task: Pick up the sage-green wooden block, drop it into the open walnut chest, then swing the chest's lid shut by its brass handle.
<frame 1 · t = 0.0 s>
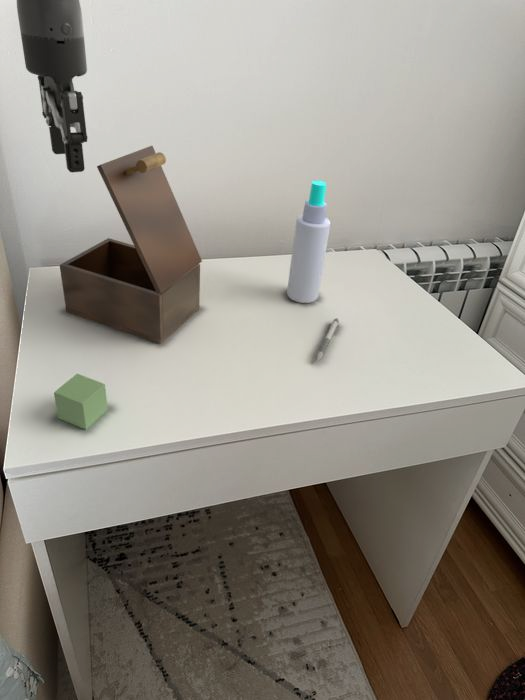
hand: (68, 162, 76), 26 cm above the table, tool pointing down, fingers open, 8 cm apart
spray bottle: (302, 297, 103), on the table
block: (83, 413, 71), on the table
pen: (326, 343, 91), on the table
lid: (165, 215, 81), point 19 cm above the table, hinge at 62.0°
chest: (134, 310, 94), on the table
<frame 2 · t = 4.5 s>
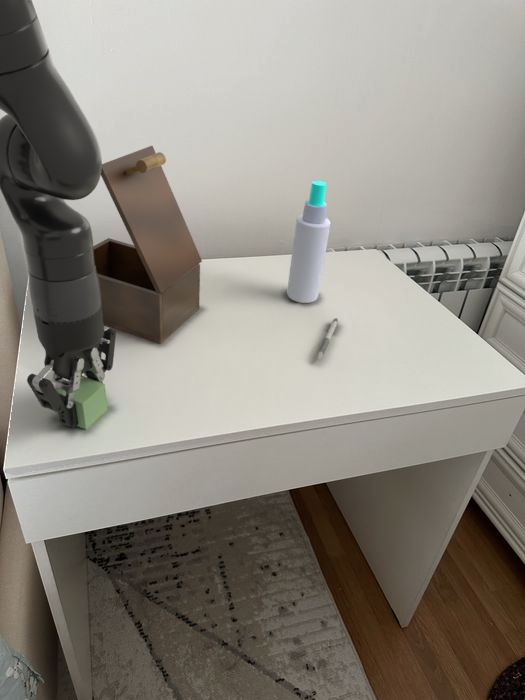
hand: (83, 412, 71), 0 cm above the table, tool pointing down, fingers closed on block, 4 cm apart
block: (83, 414, 71), on the table, touching gripper
everything else where it was.
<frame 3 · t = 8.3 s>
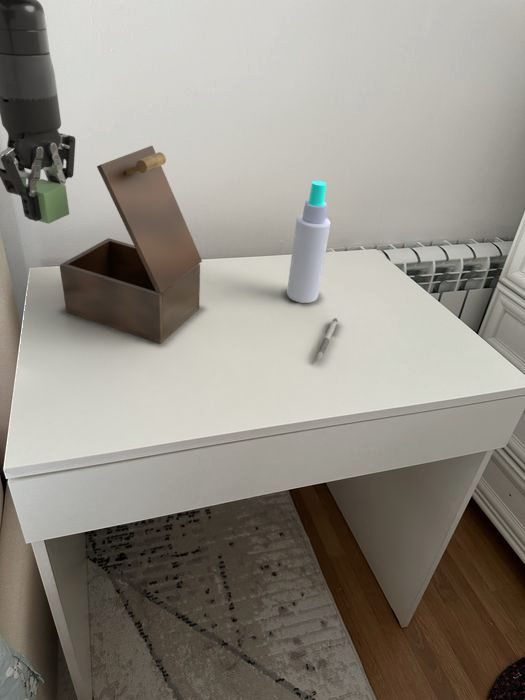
hand: (46, 213, 80), 18 cm above the table, tool pointing down, fingers closed on block, 4 cm apart
block: (47, 215, 80), point 18 cm above the table, touching gripper
everything else where it was.
when the fingers open (6 cm above the table, at t = 12.5 s): block drops 5 cm, resting on chest.
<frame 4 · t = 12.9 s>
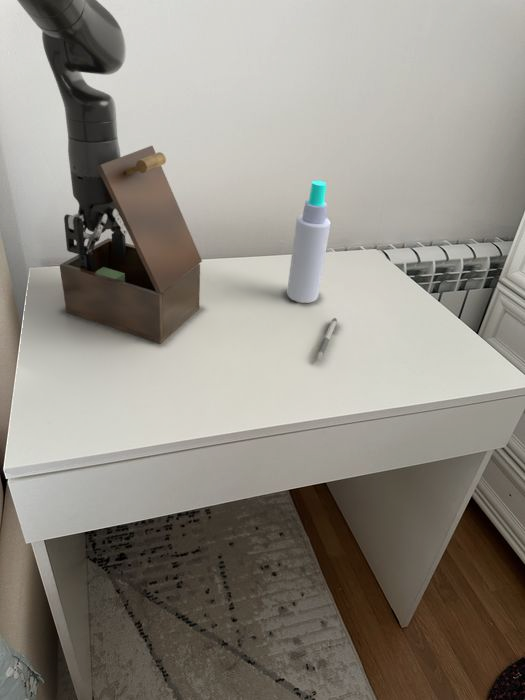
hand: (104, 263, 91), 8 cm above the table, tool pointing down, fingers open, 8 cm apart
block: (108, 297, 95), point 1 cm above the table, touching chest
everything else where it was.
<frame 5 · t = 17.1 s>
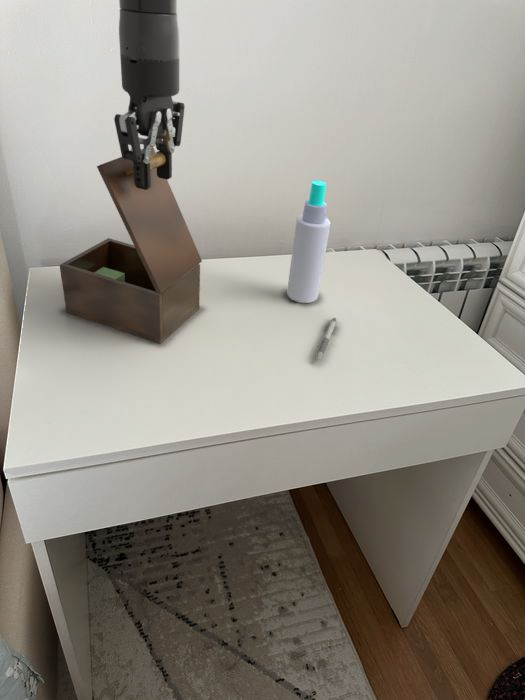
hand: (153, 182, 79), 24 cm above the table, tool pointing down, fingers closed on lid, 5 cm apart
lid: (165, 215, 81), point 19 cm above the table, hinge at 62.0°, touching gripper
everything else where it was.
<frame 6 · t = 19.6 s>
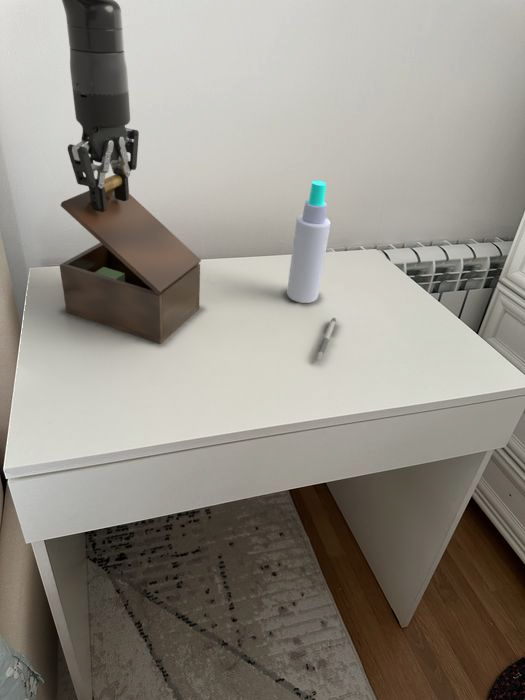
hand: (111, 204, 84), 18 cm above the table, tool pointing down, fingers closed on lid, 5 cm apart
lid: (140, 225, 84), point 16 cm above the table, hinge at 31.3°, touching gripper
everything else where it was.
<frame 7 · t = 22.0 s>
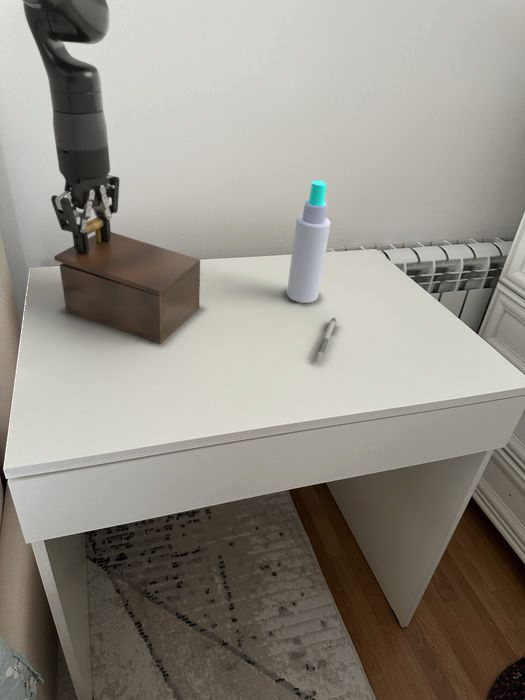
hand: (93, 245, 90), 10 cm above the table, tool pointing down, fingers closed on lid, 5 cm apart
lid: (128, 248, 87), point 12 cm above the table, hinge at 1.5°, touching gripper
everything else where it was.
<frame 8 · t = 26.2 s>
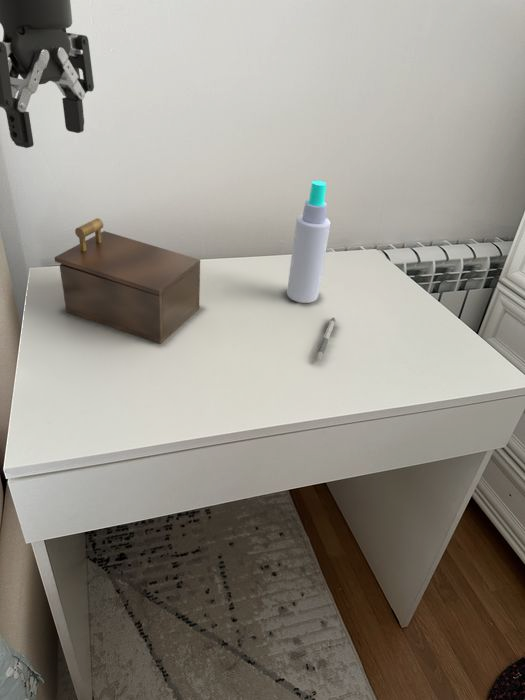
hand: (50, 138, 63), 32 cm above the table, tool pointing down, fingers open, 8 cm apart
lid: (128, 248, 87), point 12 cm above the table, hinge at 0.9°
everything else where it was.
at the end: block inside the target area in the chest (5.4 cm from its centre), point 0.9 cm above the chest's base; lid at +1° (first picture: +62°) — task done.
